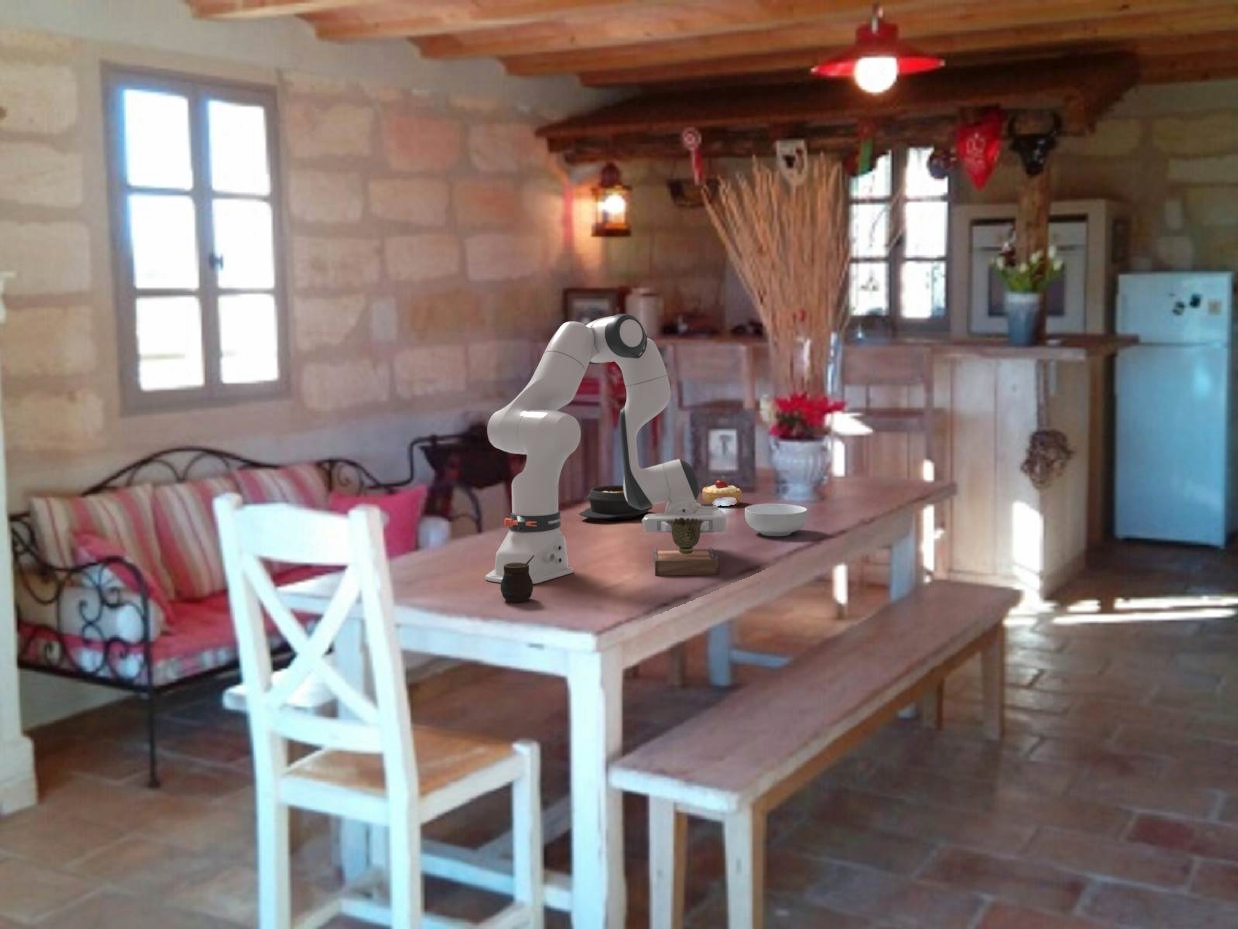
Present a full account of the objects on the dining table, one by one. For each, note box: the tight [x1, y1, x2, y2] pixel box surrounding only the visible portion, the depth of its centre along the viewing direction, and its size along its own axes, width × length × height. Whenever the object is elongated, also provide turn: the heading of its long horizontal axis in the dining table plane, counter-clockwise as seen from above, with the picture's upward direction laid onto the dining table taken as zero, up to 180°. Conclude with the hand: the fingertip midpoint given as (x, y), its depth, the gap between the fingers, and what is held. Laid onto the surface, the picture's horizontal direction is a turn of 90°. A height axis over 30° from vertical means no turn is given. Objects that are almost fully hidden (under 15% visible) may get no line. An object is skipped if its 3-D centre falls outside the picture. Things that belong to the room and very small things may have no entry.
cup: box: [670, 517, 702, 554], centre depth 338 cm, size 8×7×8 cm
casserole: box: [578, 484, 654, 521], centre depth 411 cm, size 25×19×8 cm
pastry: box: [701, 474, 743, 506], centre depth 430 cm, size 12×12×9 cm
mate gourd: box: [499, 555, 534, 603], centre depth 308 cm, size 7×8×10 cm
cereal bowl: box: [744, 503, 808, 537], centre depth 381 cm, size 17×17×7 cm
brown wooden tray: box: [652, 547, 720, 576], centre depth 347 cm, size 32×15×4 cm, turn 179°
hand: (685, 528), depth 336 cm, fingers closed on cup, 7 cm apart
